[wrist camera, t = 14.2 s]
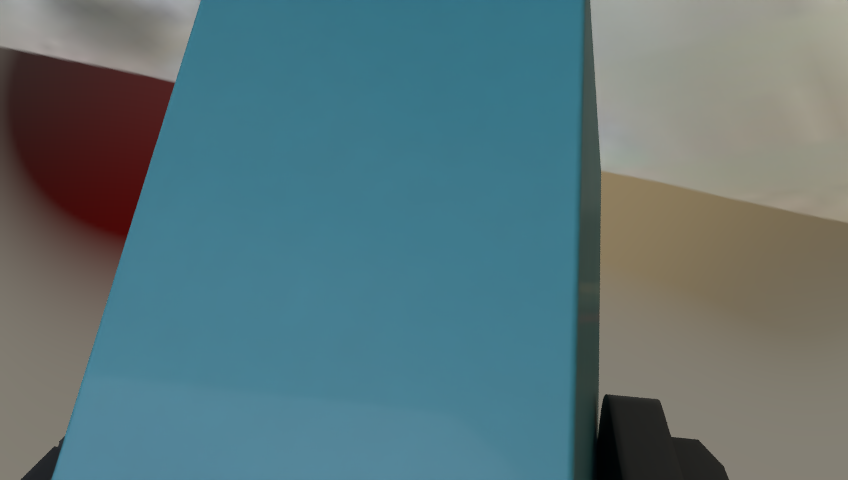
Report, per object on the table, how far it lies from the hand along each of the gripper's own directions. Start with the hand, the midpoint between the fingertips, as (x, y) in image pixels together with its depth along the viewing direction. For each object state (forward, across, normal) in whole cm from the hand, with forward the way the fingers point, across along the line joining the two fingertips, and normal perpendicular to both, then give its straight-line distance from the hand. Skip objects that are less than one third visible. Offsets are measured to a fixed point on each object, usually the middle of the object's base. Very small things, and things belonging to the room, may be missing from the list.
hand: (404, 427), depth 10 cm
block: (+2, 0, -5) cm, 5 cm away
